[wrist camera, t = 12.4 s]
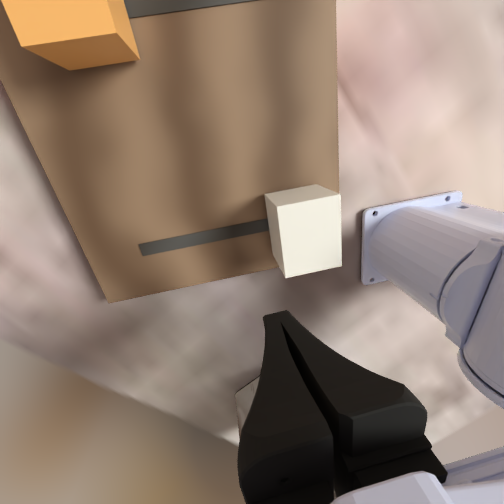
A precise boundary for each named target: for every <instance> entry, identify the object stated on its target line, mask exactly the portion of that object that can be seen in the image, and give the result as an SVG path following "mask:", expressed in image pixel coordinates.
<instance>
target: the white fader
mask: <svg viewBox="0 0 504 504" xmlns="http://www.w3.org/2000/svg"><path fill="white" fill-rule="evenodd" d="M264 195H265V202H266V209H267V217H268V224H269V231H270V238H271V245H272V252H273V256H274V258H275V259H276V261H277V263H278V265H279V267H280V269H281V271H282V272H283V274H284V276H285V278H289V277H294V276H298V275H303V274H307V273H312V272H317V271H321V270H326V269H330V268H335V267H340V266H342V245H341V194H339V193H337V192H334V191H332V190H329V189H327V188H324V187H322V186H320V185H317V184H314V185H309V186H304V187H299V188H294V189H289V190H283V191H278V192H273V193H268V194H264Z"/></svg>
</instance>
